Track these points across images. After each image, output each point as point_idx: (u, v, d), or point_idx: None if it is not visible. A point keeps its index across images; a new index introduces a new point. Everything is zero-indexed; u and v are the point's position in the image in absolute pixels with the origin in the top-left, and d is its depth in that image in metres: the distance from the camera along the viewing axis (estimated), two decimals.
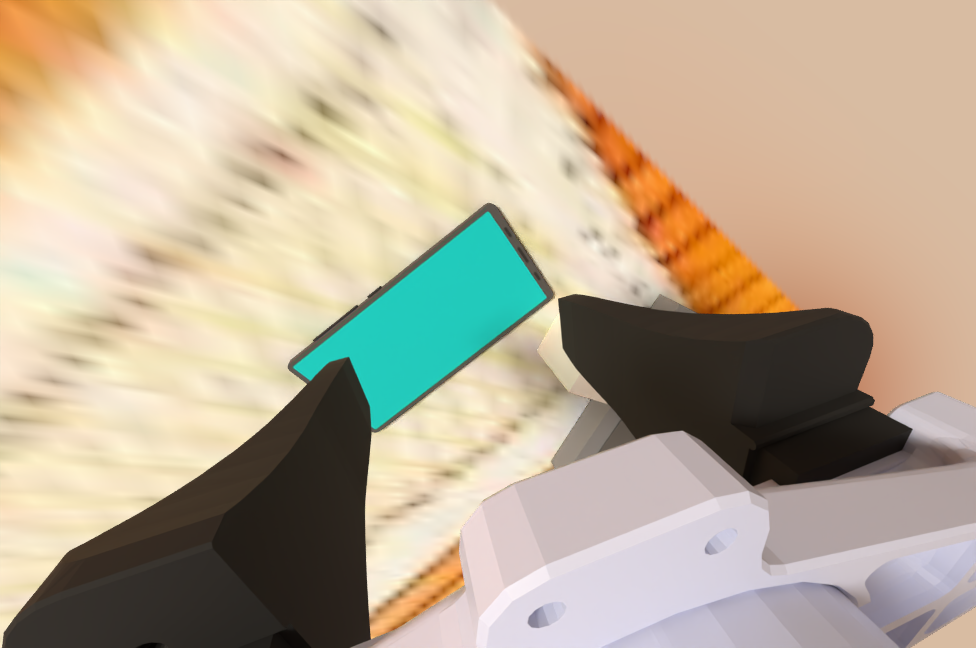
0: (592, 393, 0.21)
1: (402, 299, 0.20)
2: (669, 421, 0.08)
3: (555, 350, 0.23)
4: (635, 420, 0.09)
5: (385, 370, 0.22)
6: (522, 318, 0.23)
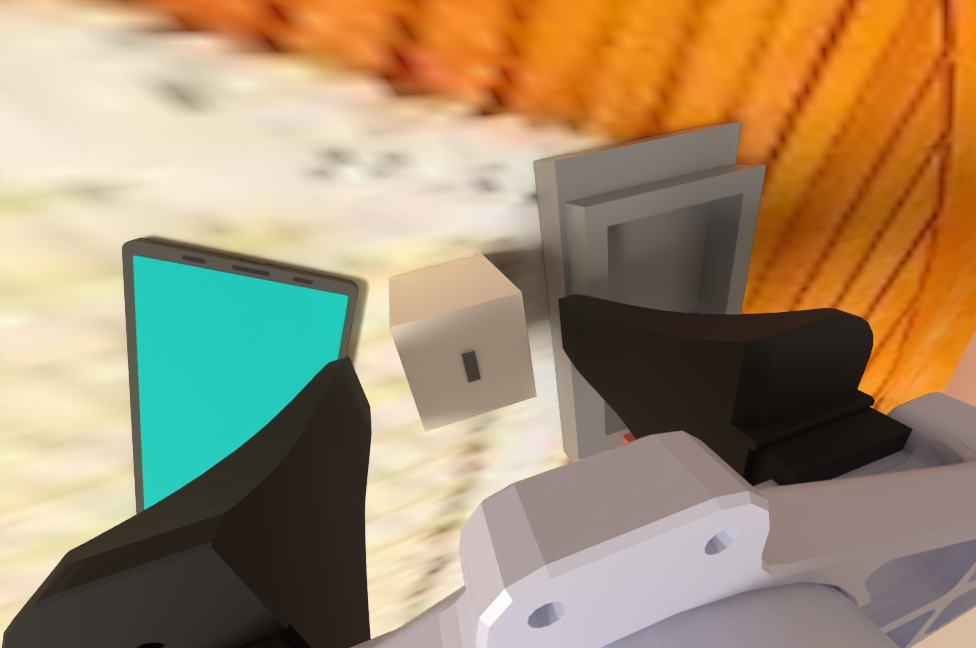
0: (468, 408, 0.12)
1: (168, 425, 0.14)
2: (669, 421, 0.08)
3: None
4: (635, 420, 0.09)
5: None
6: (344, 342, 0.15)
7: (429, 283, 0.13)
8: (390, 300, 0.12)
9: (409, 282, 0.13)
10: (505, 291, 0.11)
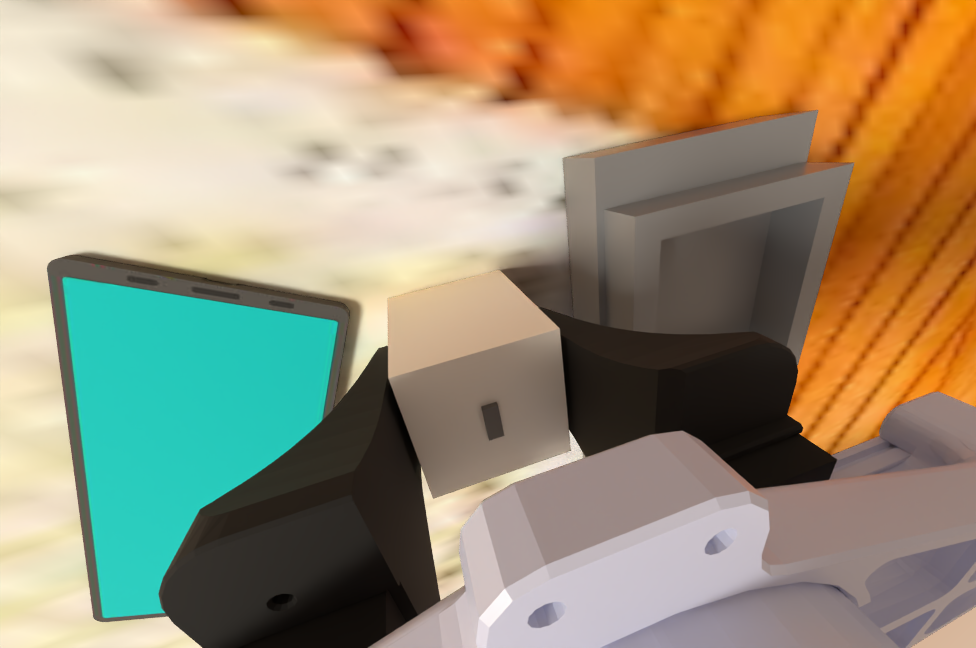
0: (487, 469, 0.09)
1: (121, 477, 0.12)
2: (608, 442, 0.08)
3: None
4: (583, 438, 0.09)
5: None
6: (333, 375, 0.12)
7: (437, 310, 0.10)
8: (389, 333, 0.10)
9: (412, 306, 0.11)
10: (537, 326, 0.08)
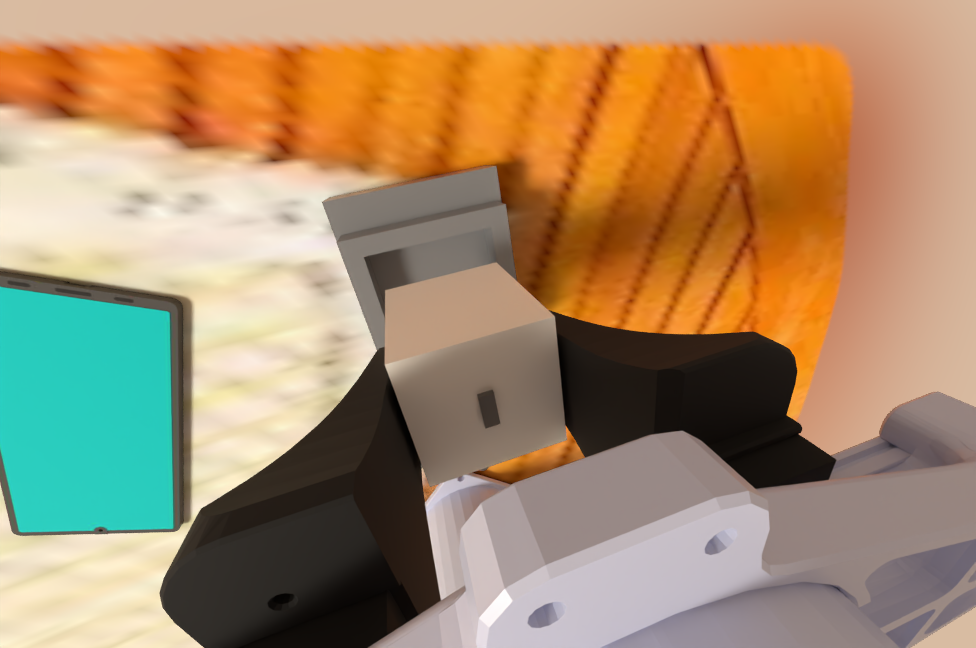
0: (483, 458, 0.10)
1: (20, 422, 0.17)
2: (608, 443, 0.08)
3: None
4: (583, 438, 0.09)
5: (105, 484, 0.19)
6: (173, 350, 0.17)
7: (433, 300, 0.10)
8: (386, 323, 0.10)
9: (410, 298, 0.11)
10: (532, 314, 0.09)
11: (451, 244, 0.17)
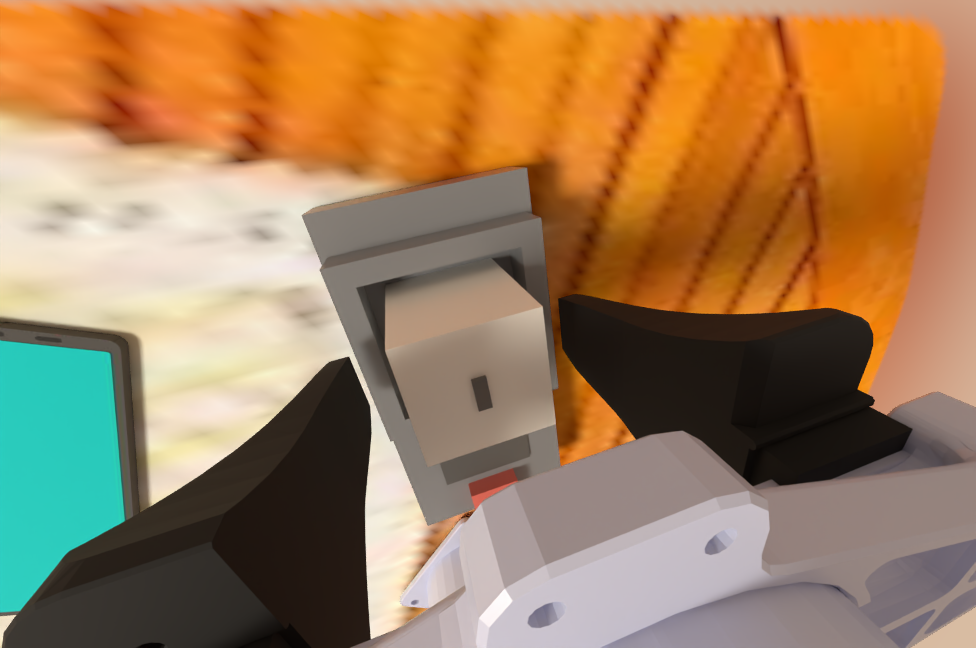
0: (477, 440, 0.10)
1: None
2: (669, 421, 0.08)
3: None
4: (635, 420, 0.09)
5: (43, 557, 0.15)
6: (118, 399, 0.14)
7: (431, 293, 0.11)
8: (386, 314, 0.10)
9: (408, 291, 0.12)
10: (522, 305, 0.09)
11: None
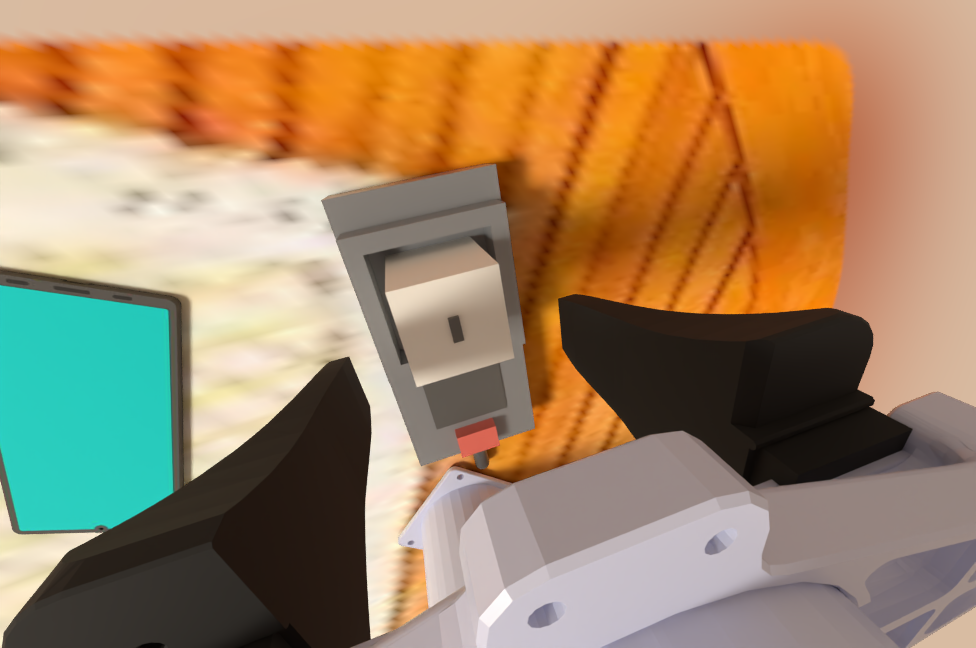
0: (454, 367, 0.14)
1: (19, 421, 0.17)
2: (669, 421, 0.08)
3: None
4: (635, 420, 0.09)
5: (106, 482, 0.19)
6: (172, 348, 0.17)
7: (420, 260, 0.15)
8: (386, 273, 0.14)
9: (403, 259, 0.15)
10: (485, 263, 0.13)
11: None
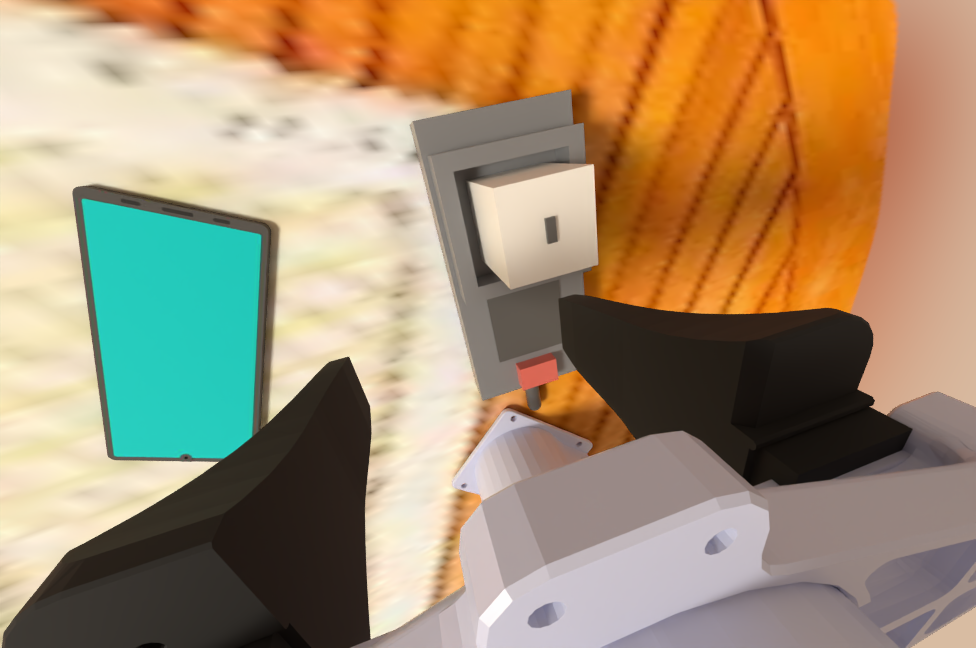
0: (545, 271, 0.15)
1: (122, 343, 0.18)
2: (669, 421, 0.08)
3: (486, 247, 0.17)
4: (635, 420, 0.09)
5: (193, 409, 0.20)
6: (262, 274, 0.18)
7: (506, 175, 0.15)
8: (479, 184, 0.15)
9: (487, 178, 0.16)
10: (579, 166, 0.14)
11: None
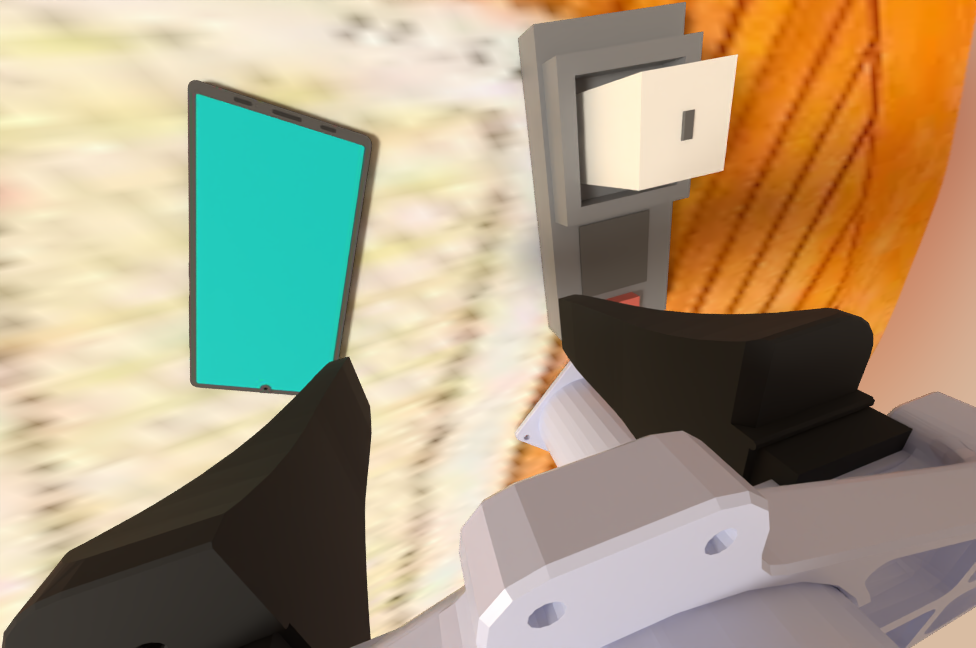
0: (673, 172, 0.14)
1: (218, 257, 0.17)
2: (669, 421, 0.08)
3: (597, 160, 0.16)
4: (635, 420, 0.09)
5: (278, 336, 0.19)
6: (360, 190, 0.18)
7: None
8: (608, 83, 0.14)
9: None
10: None
11: None
